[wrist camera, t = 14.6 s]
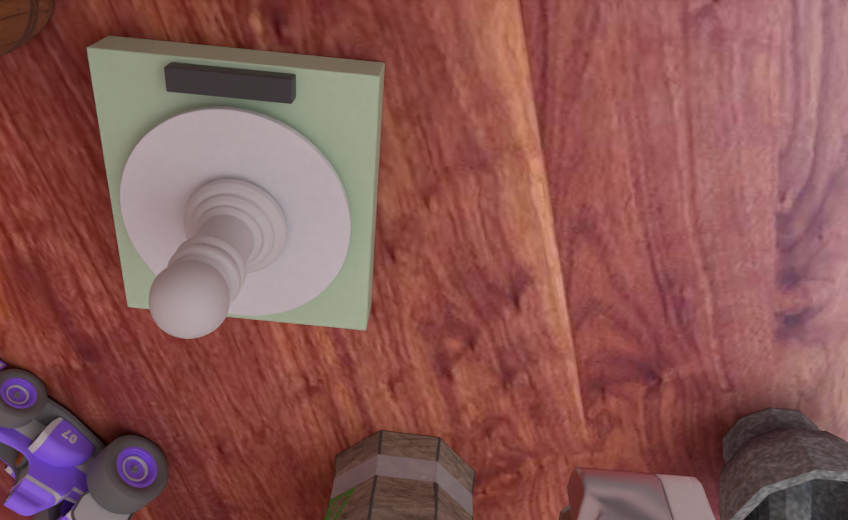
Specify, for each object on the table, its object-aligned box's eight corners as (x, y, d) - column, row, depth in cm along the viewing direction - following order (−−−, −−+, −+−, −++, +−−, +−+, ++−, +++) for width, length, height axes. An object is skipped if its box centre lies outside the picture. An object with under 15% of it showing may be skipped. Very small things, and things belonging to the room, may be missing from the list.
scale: (108, 35, 35) (74, 52, 32) (384, 62, 35) (377, 82, 32) (144, 284, 43) (119, 318, 40) (371, 306, 43) (364, 341, 40)
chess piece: (175, 178, 35) (93, 271, 27) (278, 171, 35) (225, 264, 27) (202, 269, 38) (134, 377, 30) (298, 264, 37) (255, 372, 30)
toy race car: (-9, 333, 45) (-75, 401, 40) (179, 458, 50) (143, 534, 45) (-74, 406, 49) (-143, 479, 43) (107, 516, 54) (66, 593, 48)
